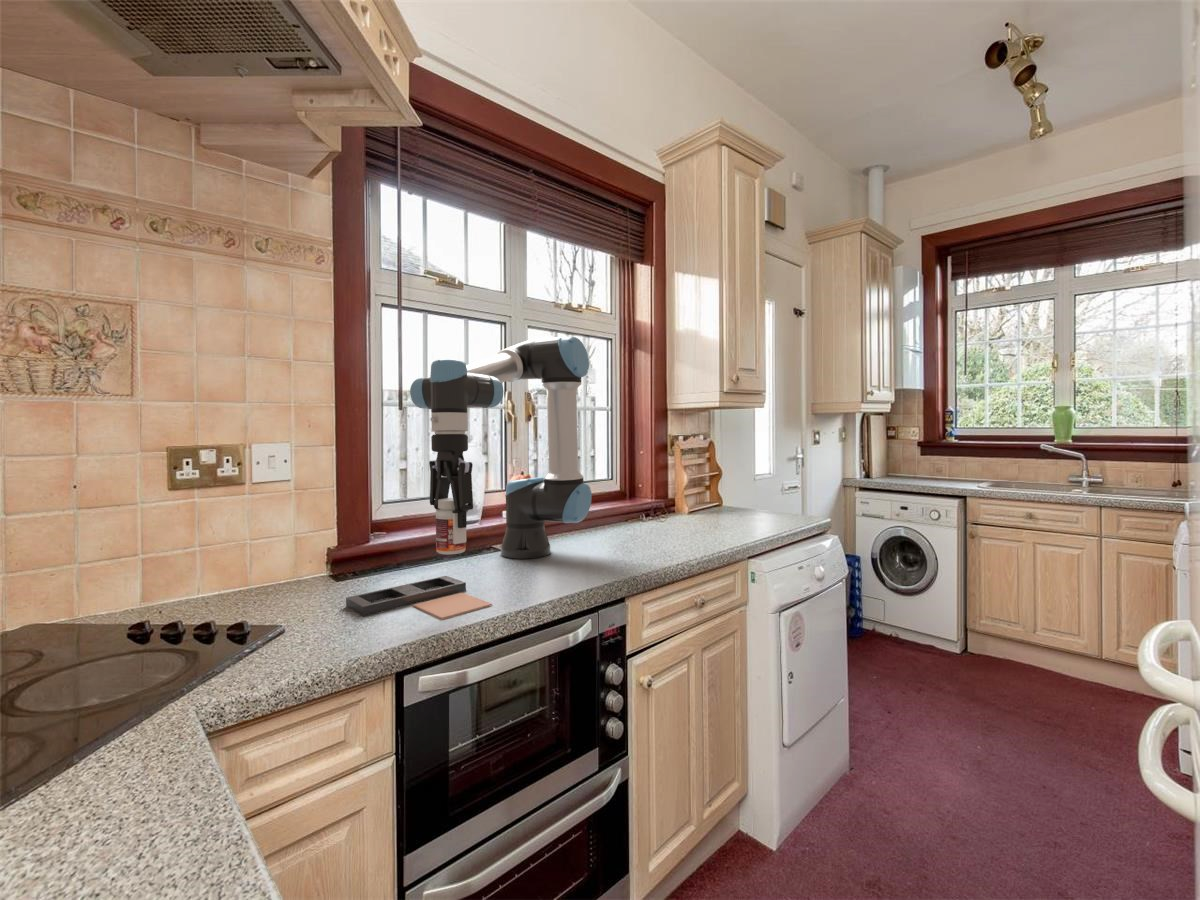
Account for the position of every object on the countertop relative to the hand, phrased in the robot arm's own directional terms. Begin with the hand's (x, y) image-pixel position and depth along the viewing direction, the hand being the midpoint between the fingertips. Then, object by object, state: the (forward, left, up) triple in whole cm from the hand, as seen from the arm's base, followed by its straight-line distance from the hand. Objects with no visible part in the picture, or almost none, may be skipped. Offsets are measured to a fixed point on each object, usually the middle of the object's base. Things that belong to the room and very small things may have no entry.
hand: (451, 540), depth 116 cm
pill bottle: (0, 0, -3) cm, 3 cm away
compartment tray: (+4, -12, -14) cm, 19 cm away
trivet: (0, 0, -14) cm, 14 cm away
